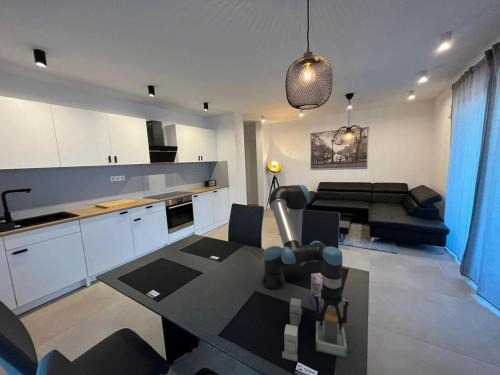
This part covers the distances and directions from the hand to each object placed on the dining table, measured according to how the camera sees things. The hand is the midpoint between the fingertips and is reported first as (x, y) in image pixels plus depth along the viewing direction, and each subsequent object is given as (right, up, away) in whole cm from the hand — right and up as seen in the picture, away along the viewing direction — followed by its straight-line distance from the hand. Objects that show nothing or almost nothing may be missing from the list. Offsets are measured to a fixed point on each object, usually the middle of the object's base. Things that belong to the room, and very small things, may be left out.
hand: (330, 333), depth 91 cm
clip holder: (-15, -4, +6) cm, 17 cm away
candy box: (+3, -2, +22) cm, 22 cm away
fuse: (0, -2, 0) cm, 2 cm away
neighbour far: (-12, -3, +15) cm, 19 cm away
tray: (0, -4, +1) cm, 4 cm away
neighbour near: (-18, -5, -2) cm, 18 cm away
